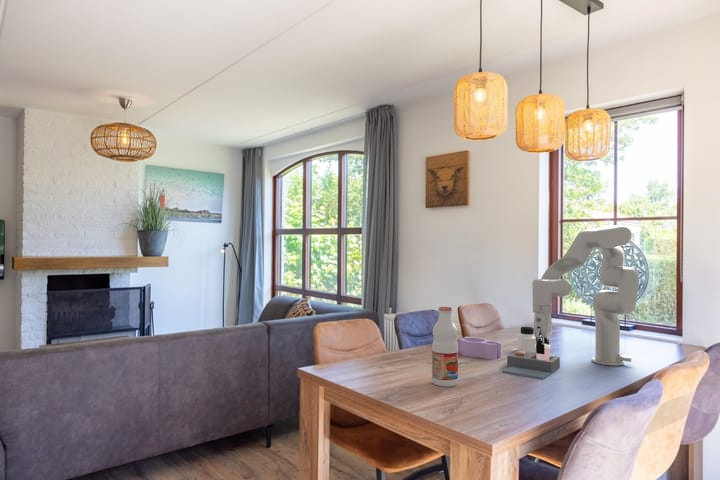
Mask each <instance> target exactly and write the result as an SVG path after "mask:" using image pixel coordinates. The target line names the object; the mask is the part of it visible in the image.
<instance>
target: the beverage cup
mask: <svg viewBox="0 0 720 480" xmlns="http://www.w3.org/2000/svg"><path fill="white" fill-rule="evenodd" d="M535 347H536V344H535ZM550 350H551V344H550V343H549V344H544V354H537V353H535V354H536V358H537V359H540V360H547V361H549V357H550V356H551V355H550V354H551V351H550Z"/></svg>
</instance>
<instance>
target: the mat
mask: <svg viewBox="0 0 720 480" xmlns="http://www.w3.org/2000/svg"><path fill="white" fill-rule="evenodd" d="M502 373H504V374H509V375H516V376H520V377H527V378H533V379H538V380H543V379H544V380H545V379H546V378H548V377H549V376H551V375H552V374H551V373H550V372H544V371H538V370H531V369H525V368H519V367H513V366H510V367H506V368H505V369H503V370H502Z"/></svg>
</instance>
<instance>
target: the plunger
mask: <svg viewBox="0 0 720 480" xmlns="http://www.w3.org/2000/svg"><path fill="white" fill-rule="evenodd" d="M514 352H515V354H517V355H525V352H524V351H519V350H515V351H514Z"/></svg>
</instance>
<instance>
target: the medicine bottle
mask: <svg viewBox="0 0 720 480" xmlns="http://www.w3.org/2000/svg"><path fill="white" fill-rule="evenodd" d="M535 344H536V338H535V335H534V326H533V327H532V326H527V325H525V326H521V327H520V335H517V351H524V352H527V353H534V354H536V347H535Z"/></svg>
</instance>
